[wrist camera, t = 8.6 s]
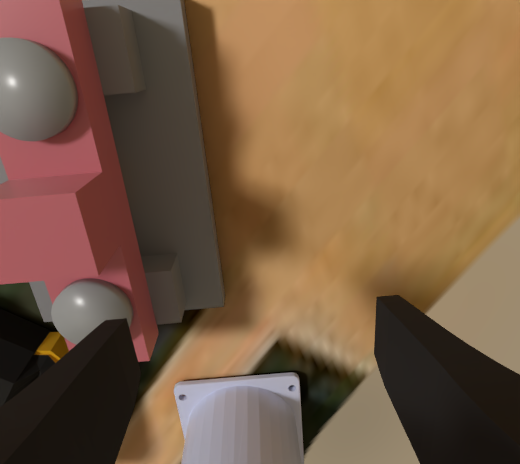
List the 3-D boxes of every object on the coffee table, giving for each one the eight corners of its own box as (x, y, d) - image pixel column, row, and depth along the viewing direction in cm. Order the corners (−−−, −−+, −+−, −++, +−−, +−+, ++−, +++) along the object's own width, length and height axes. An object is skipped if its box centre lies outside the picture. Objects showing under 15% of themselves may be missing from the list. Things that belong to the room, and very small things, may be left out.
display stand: (225, 294, 23) (221, 327, 20) (53, 309, 23) (27, 343, 20) (183, -5, 17) (170, -17, 14) (-50, 17, 17) (-108, 8, 14)
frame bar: (158, 333, 20) (135, 404, 16) (90, 339, 20) (49, 411, 16) (80, -7, 14) (9, -35, 10) (-18, 1, 14) (-128, -23, 10)
